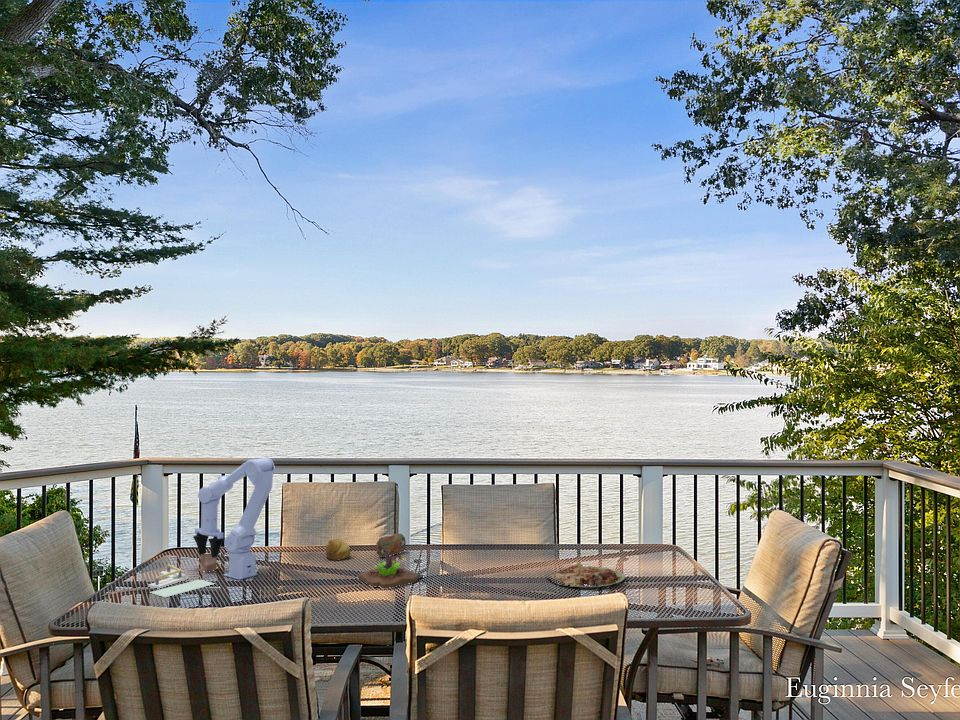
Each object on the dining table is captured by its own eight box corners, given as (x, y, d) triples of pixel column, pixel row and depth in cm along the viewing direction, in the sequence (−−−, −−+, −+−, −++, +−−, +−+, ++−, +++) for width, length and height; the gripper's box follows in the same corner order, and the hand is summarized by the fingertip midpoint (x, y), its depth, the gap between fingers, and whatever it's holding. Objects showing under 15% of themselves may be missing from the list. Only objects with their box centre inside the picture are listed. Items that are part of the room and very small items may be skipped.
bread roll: (324, 554, 293) (324, 534, 294) (348, 553, 296) (348, 533, 296) (326, 562, 281) (326, 541, 281) (351, 560, 284) (351, 540, 284)
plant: (394, 570, 270) (394, 541, 270) (426, 581, 255) (426, 550, 256) (348, 580, 256) (349, 549, 257) (380, 592, 242) (380, 559, 242)
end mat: (215, 584, 248) (215, 583, 248) (165, 598, 233) (165, 596, 233) (199, 580, 253) (199, 579, 253) (149, 593, 238) (149, 592, 238)
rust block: (216, 570, 267) (216, 554, 267) (206, 573, 263) (207, 556, 263) (209, 569, 269) (210, 553, 269) (200, 571, 266) (200, 555, 266)
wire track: (199, 578, 255) (200, 568, 256) (156, 590, 242) (156, 579, 242) (172, 571, 265) (172, 561, 265) (128, 582, 251) (129, 571, 251)
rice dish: (537, 589, 251) (537, 573, 251) (558, 567, 277) (558, 553, 277) (617, 598, 241) (617, 582, 241) (631, 574, 267) (631, 560, 267)
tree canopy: (380, 559, 285) (380, 538, 286) (374, 558, 287) (375, 537, 288) (406, 552, 297) (406, 532, 298) (400, 551, 299) (400, 531, 300)
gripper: (230, 519, 266) (229, 556, 266) (206, 515, 274) (205, 550, 274) (214, 522, 260) (213, 560, 260) (190, 517, 268) (189, 554, 268)
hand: (208, 555), depth 266 cm, fingers open, 7 cm apart
